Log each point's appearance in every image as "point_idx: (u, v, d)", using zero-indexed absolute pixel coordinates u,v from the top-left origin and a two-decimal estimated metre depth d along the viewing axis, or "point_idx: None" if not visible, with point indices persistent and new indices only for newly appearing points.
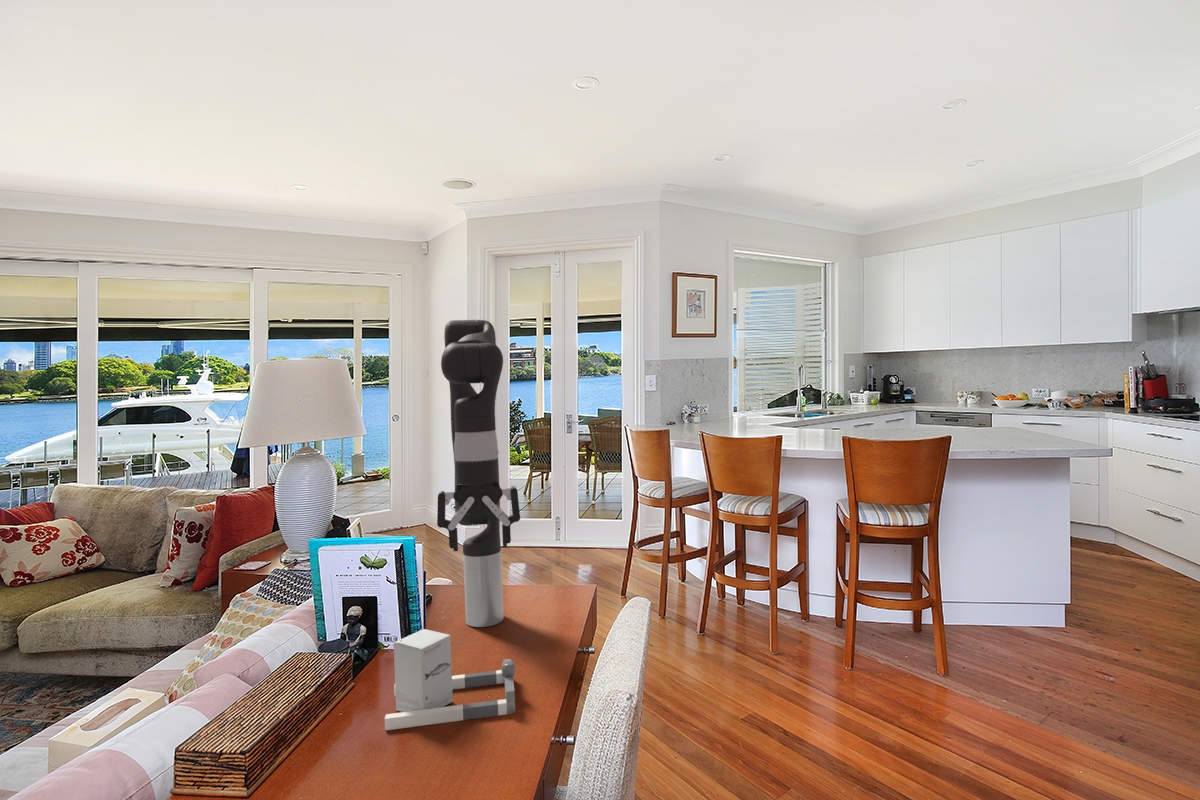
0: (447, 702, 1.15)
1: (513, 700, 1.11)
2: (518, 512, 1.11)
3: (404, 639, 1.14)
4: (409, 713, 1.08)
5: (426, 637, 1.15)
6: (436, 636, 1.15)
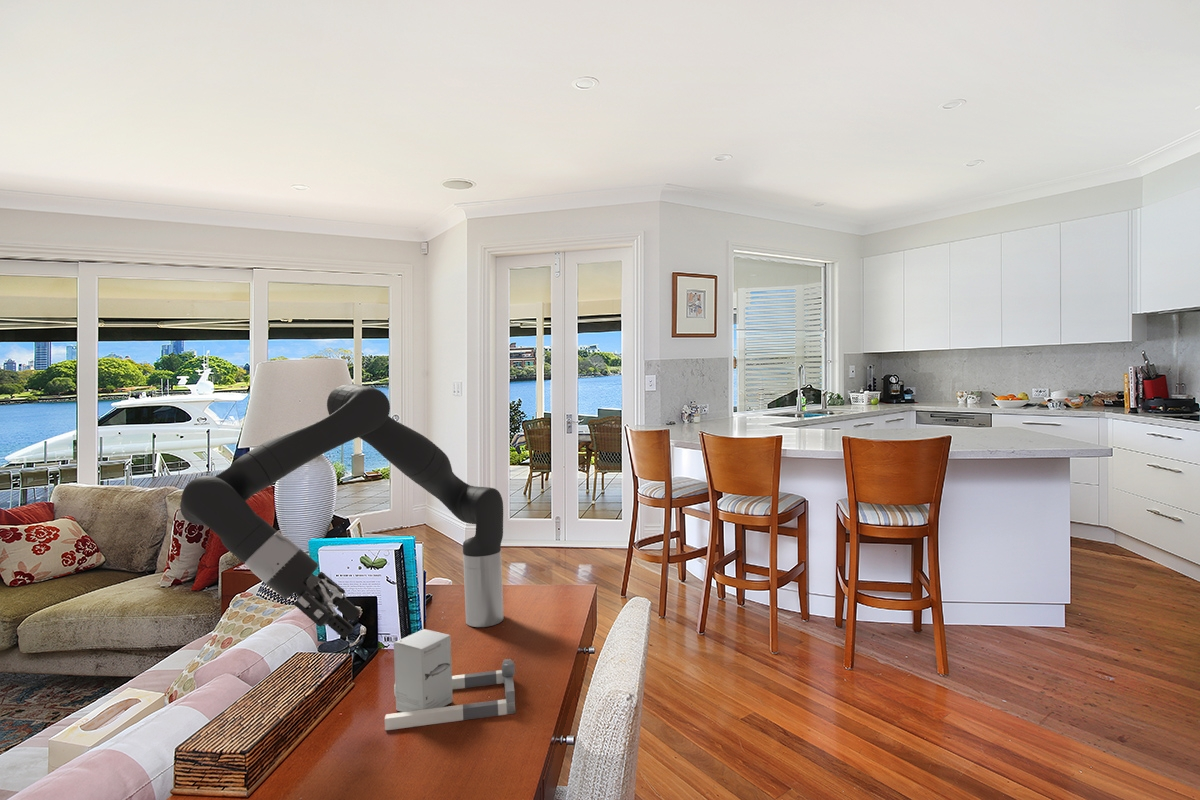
0: (447, 702, 1.15)
1: (513, 700, 1.11)
2: None
3: (404, 639, 1.14)
4: (409, 713, 1.08)
5: (426, 637, 1.15)
6: (436, 636, 1.15)
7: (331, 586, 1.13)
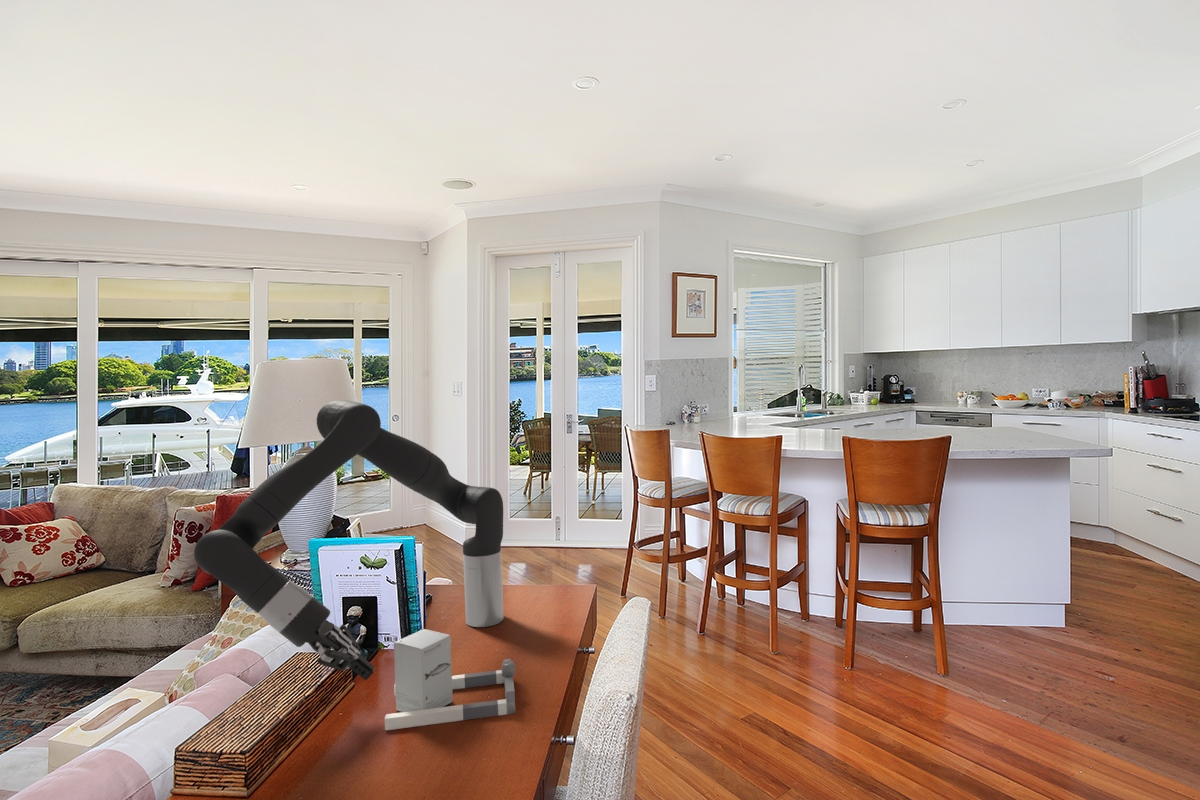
0: (447, 702, 1.15)
1: (513, 700, 1.11)
2: (337, 668, 1.08)
3: (404, 639, 1.14)
4: (409, 713, 1.08)
5: (426, 637, 1.15)
6: (436, 636, 1.15)
7: (344, 636, 1.13)
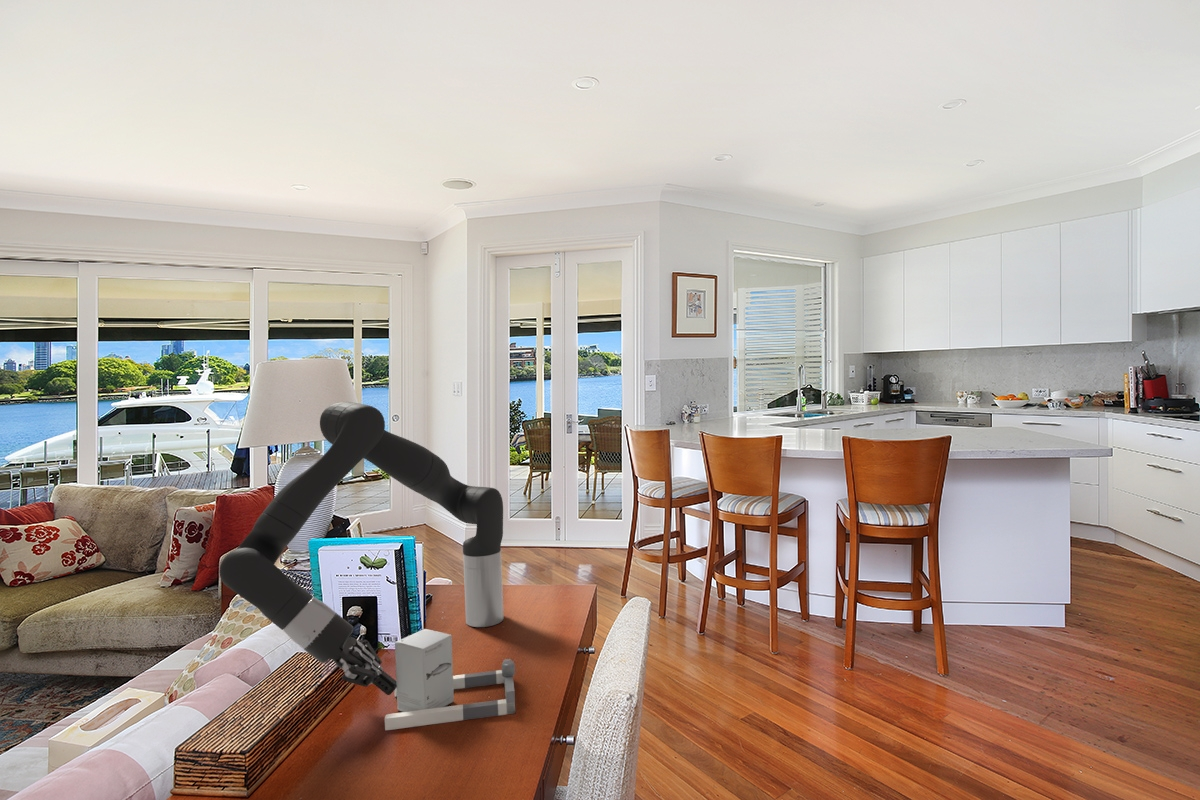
0: (448, 702, 1.15)
1: (513, 700, 1.11)
2: (361, 684, 1.09)
3: (406, 638, 1.14)
4: (409, 713, 1.08)
5: (427, 637, 1.15)
6: (438, 635, 1.15)
7: (367, 652, 1.14)
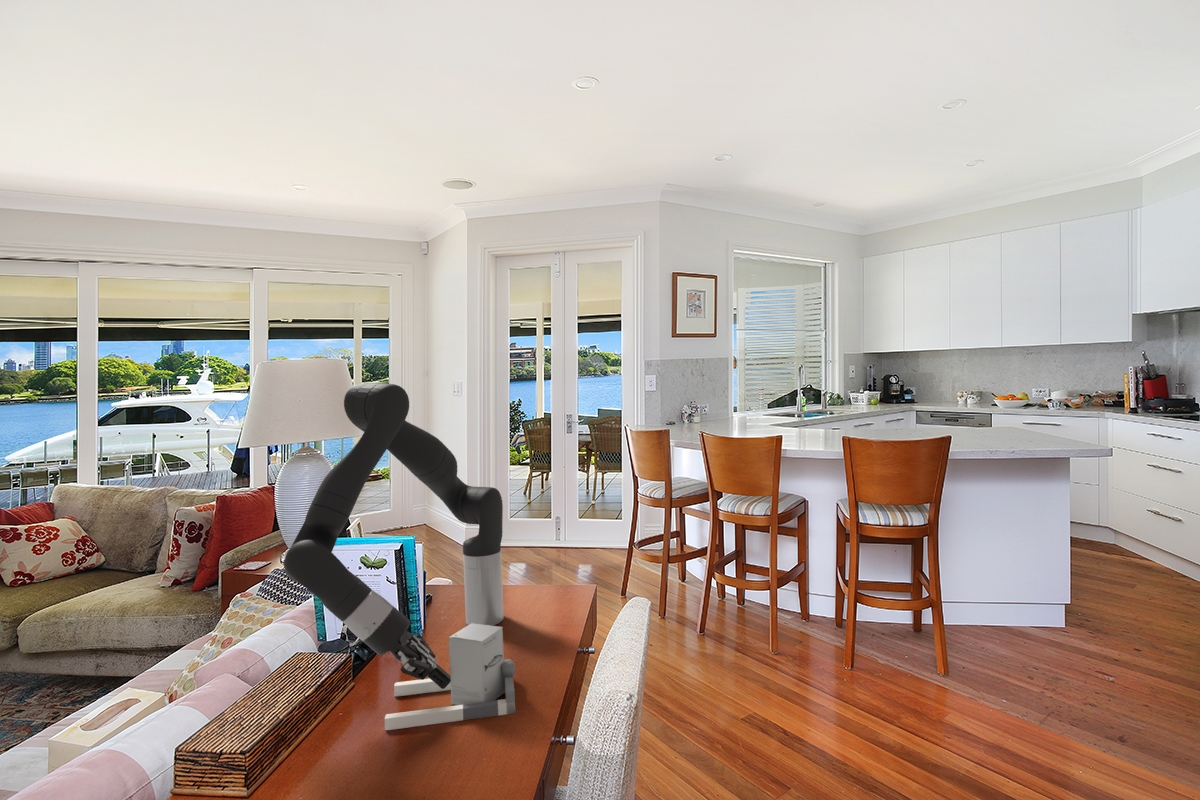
0: (501, 693, 1.17)
1: (513, 700, 1.11)
2: (418, 677, 1.11)
3: (458, 633, 1.16)
4: (409, 713, 1.08)
5: (480, 630, 1.17)
6: (489, 628, 1.18)
7: (422, 645, 1.16)
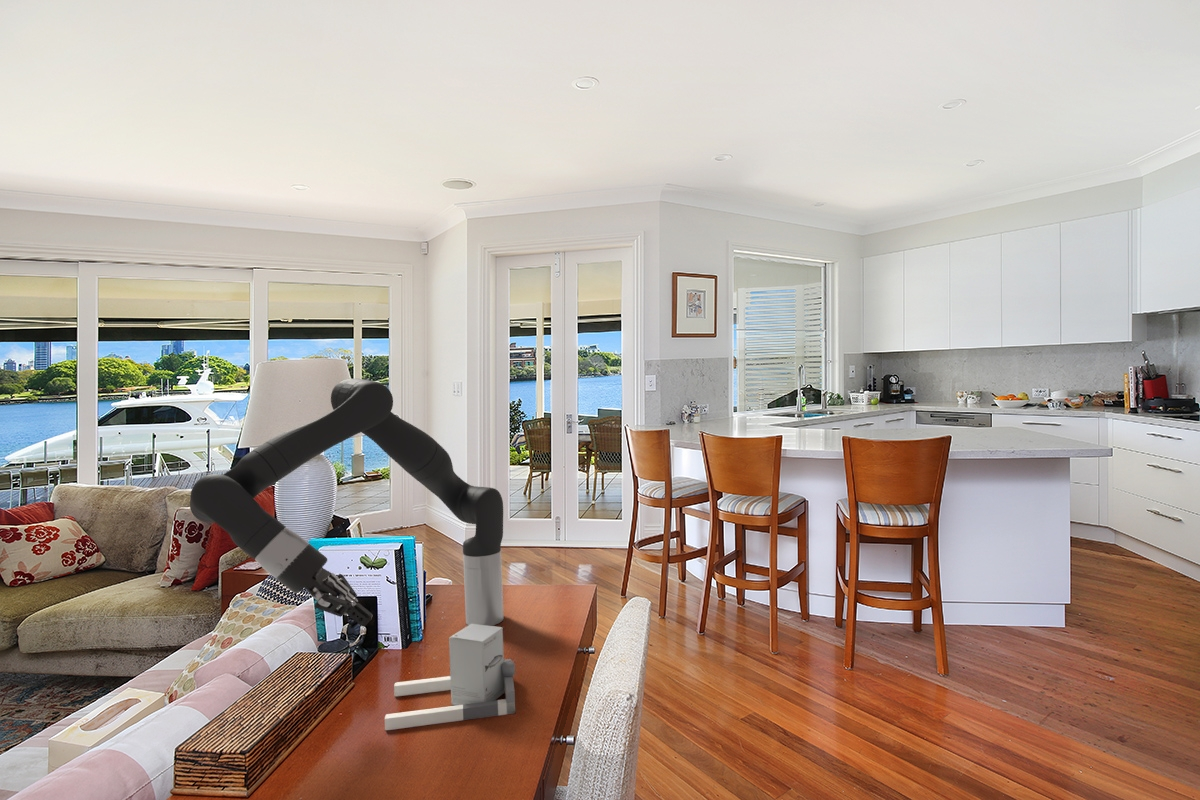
0: (501, 693, 1.17)
1: (513, 700, 1.11)
2: None
3: (459, 633, 1.16)
4: (409, 713, 1.08)
5: (480, 630, 1.17)
6: (489, 629, 1.18)
7: (341, 583, 1.13)
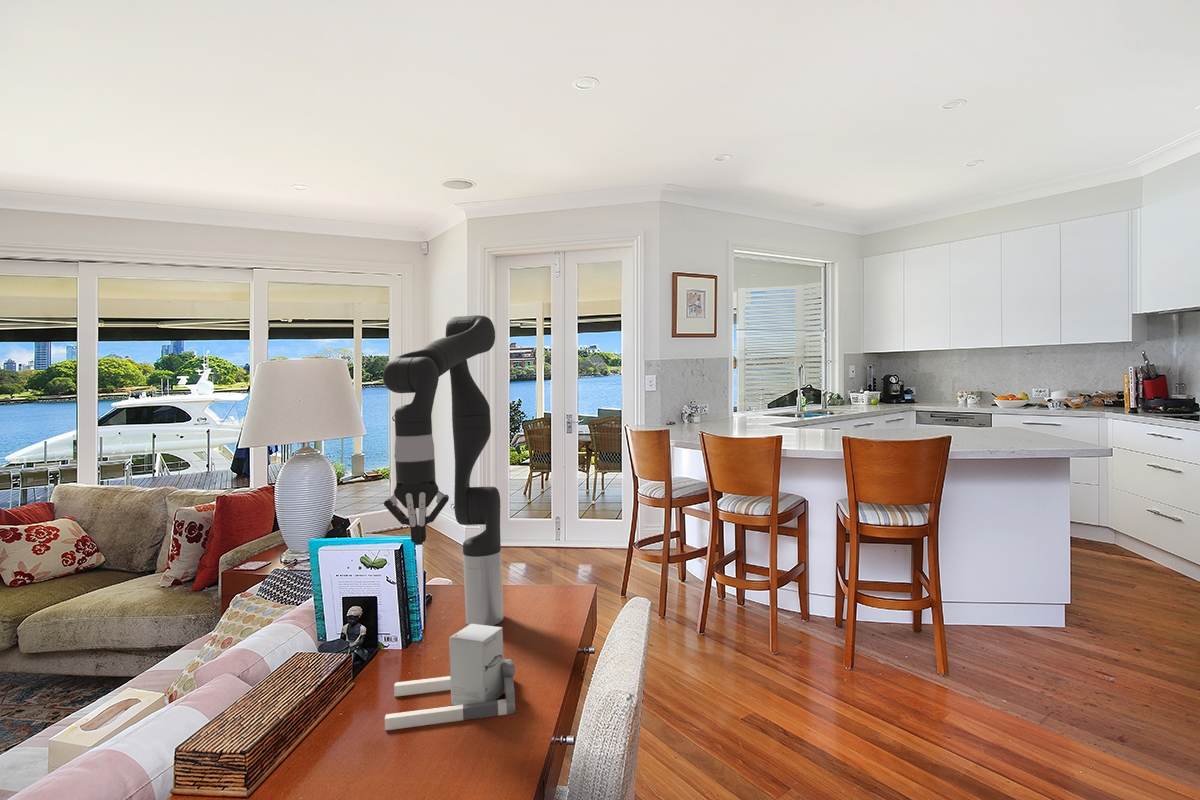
0: (501, 693, 1.17)
1: (513, 700, 1.11)
2: (435, 516, 1.25)
3: (458, 633, 1.16)
4: (409, 713, 1.08)
5: (480, 630, 1.17)
6: (489, 629, 1.18)
7: None
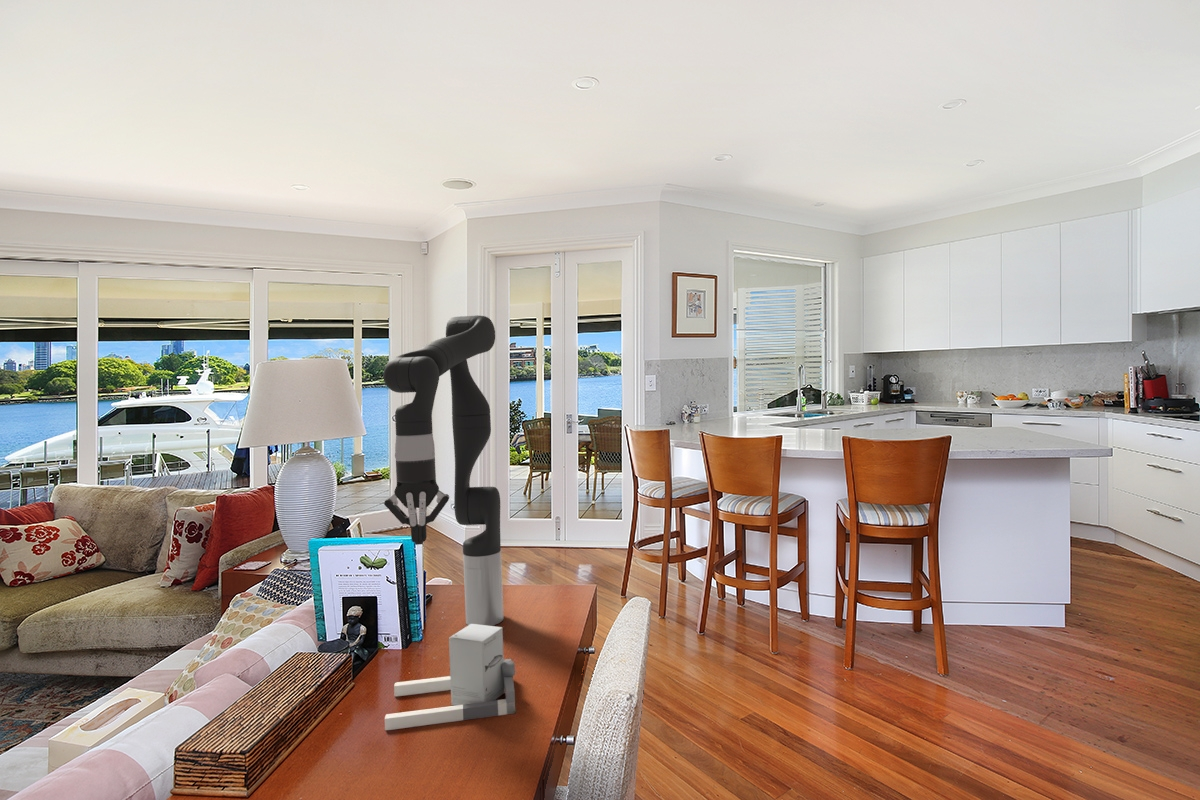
0: (501, 693, 1.17)
1: (513, 700, 1.11)
2: (435, 515, 1.25)
3: (458, 633, 1.16)
4: (409, 713, 1.08)
5: (480, 630, 1.17)
6: (489, 629, 1.18)
7: None
